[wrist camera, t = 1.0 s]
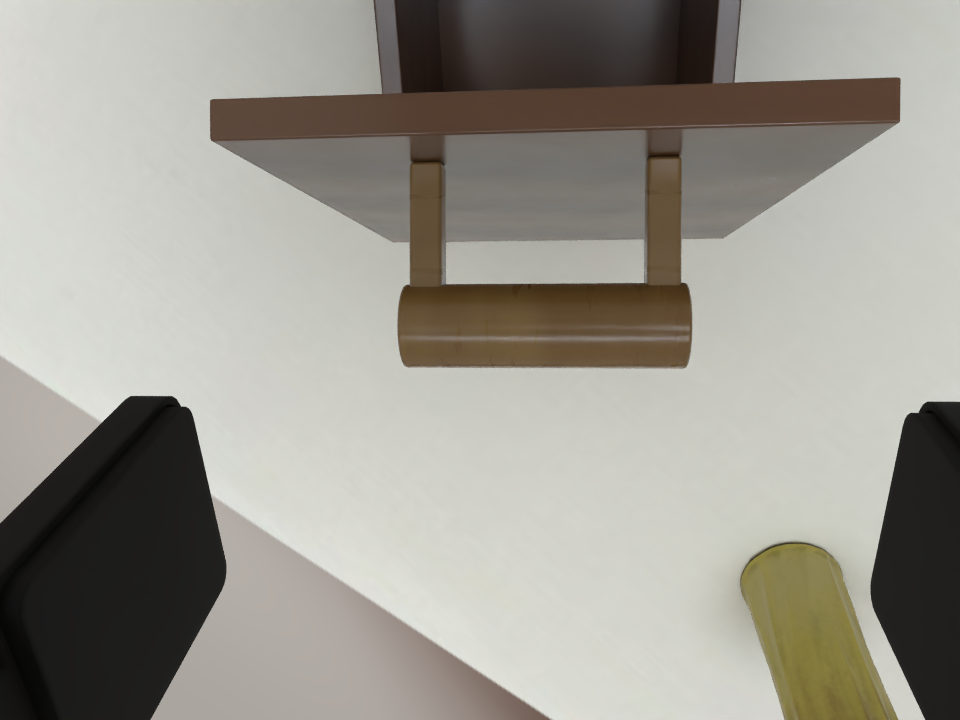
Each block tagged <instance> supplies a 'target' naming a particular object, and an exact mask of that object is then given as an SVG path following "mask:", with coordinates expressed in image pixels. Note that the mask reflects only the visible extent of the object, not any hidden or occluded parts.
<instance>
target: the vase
mask: <svg viewBox="0 0 960 720" xmlns="http://www.w3.org/2000/svg"><path fill="white" fill-rule="evenodd" d="M741 591H742V595H743V597H744V600H745V602H746V604H747V605H748V607H749V609H750V612H751V615H752V618H753V621H754V624H755V628H756V631H757V634H758V637H759V640H760V643H761V646H762V649H763V652H764V655H765V658H766V661H767V663H768V666H769V669H770V672H771V676H772V680H773V683H774V686H775V689H776V692H777V695H778V698H779V701H780V705H781V709H782V712H783V716H784V719H785V720H898V718H897V716H896V713H895V711H894V709H893V707H892V704H891V702H890V700H889V697H888V695H887V693H886V691H885V689H884V686H883V684H882V681H881V679H880V676H879V674H878V672H877V670H876V667H875V665H874V663H873V660H872V658H871V656H870V653H869V650H868V648H867V645H866V642H865V640H864V637H863V634H862V631H861V628H860V625H859V622H858V619H857V616H856V613H855V611H854V608H853V605H852V602H851V599H850V597H849V594H848V591H847V589H846V586H845V583H844V581H843V576H842V571H841V568H840V566H839V565H838V563H837V562H836V561H835V560H834V559H833V558H832V557H831V556H830V555H829V554H828V553H827V552H825V551H824V550H822V549H819V548H817V547H814V546H811V545H806V544H785V545H779V546H776V547H773V548H770V549H768V550H766V551H765V552H763V553H761V554H760V555H758V556H757V557H756V558H754V559H753V560H752V561H751V562H750V563H749V564H748V566H747V567H746V569H745V570H744V573H743V575H742V578H741Z"/></svg>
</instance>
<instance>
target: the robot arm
mask: <svg viewBox="0 0 960 720" xmlns="http://www.w3.org/2000/svg"><path fill="white" fill-rule="evenodd" d="M225 578H226V560H225V555H224V551H223V546H222V542H221V538H220V533H219V529H218V524H217V520H216V516H215V511H214V507H213V503H212V498H211V494H210V489H209V485H208V480H207V476H206V471H205V467H204V463H203V458H202V454H201V449H200V445H199V441H198V436H197V432H196V427H195V423H194V419H193V416H192V413H191V411H190V410H189V408H187V407H181V406H180V404H179V402H178V401H177V399H176V398H174V397H172V396H130V397H129V398H127V399H126V400H124V401H123V402H122V403H121V404H120V405H119V406H118V407H117V408H116V409H115V410H114V411H113V412H112V413H111V414H110V415H109V416H108V417H107V418H106V419H105V420H104V421H103V422H102V423H101V424H100V425H99V426H98V427H97V428H96V429H95V430H94V431H93V432H92V433H91V434H90V435H89V436H88V437H87V438H86V439H85V440H84V441H83V442H82V443H81V444H80V445H79V446H78V447H77V448H76V449H75V450H74V451H73V452H72V453H71V454H70V455H69V456H68V457H67V458H66V459H65V460H64V461H63V462H62V463H61V464H60V465H59V466H58V467H57V468H56V469H55V470H54V471H53V472H52V473H51V474H50V475H49V476H48V477H47V478H46V479H45V480H44V481H43V482H42V483H41V484H40V485H39V486H38V487H37V488H36V489H35V490H34V491H33V492H32V493H31V494H30V495H29V496H28V497H27V498H26V499H25V500H24V501H23V502H21V504H20V505H18V507H16V509H14V510H13V511H12V512H11V513H10V514H9V515H8V516H7V517H6V518H5V519H4V520H3V521H2V522H1V523H0V720H150V719H151V718H152V716H153V714H154V712H155V710H156V709H157V707H158V705H159V703H160V701H161V699H162V698H163V696H164V694H165V692H166V690H167V688H168V687H169V685H170V683H171V681H172V679H173V678H174V676H175V674H176V672H177V670H178V669H179V667H180V665H181V663H182V661H183V660H184V658H185V656H186V654H187V652H188V650H189V648H190V647H191V645H192V643H193V641H194V640H195V638H196V636H197V634H198V632H199V631H200V629H201V627H202V625H203V623H204V621H205V620H206V618H207V616H208V614H209V612H210V611H211V609H212V607H213V605H214V603H215V601H216V600H217V598H218V596H219V594H220V592H221V591H222V588H223V586H224V583H225ZM871 600H872V605H873V608H874V611H875V613H876V615H877V618H878V620H879V622H880V624H881V626H882V628H883V630H884V633H885V635H886V637H887V639H888V641H889V643H890V645H891V648H892V650H893V652H894V654H895V656H896V658H897V660H898V662H899V665H900V667H901V669H902V671H903V673H904V675H905V677H906V680H907V682H908V684H909V686H910V688H911V690H912V692H913V695H914V697H915V699H916V701H917V703H918V705H919V707H920V709H921V712H922V714H923V716H924V718H925V720H960V402H926V403H925V404H923V406H922V407H921V409H920V411H919V413H910V414H908V415H907V417H906V418H905V421H904V424H903V428H902V433H901V438H900V443H899V448H898V453H897V457H896V462H895V467H894V472H893V477H892V482H891V486H890V491H889V496H888V501H887V506H886V511H885V515H884V520H883V525H882V530H881V535H880V540H879V544H878V549H877V554H876V559H875V564H874V569H873V573H872V578H871Z"/></svg>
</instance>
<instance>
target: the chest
mask: <svg viewBox="0 0 960 720" xmlns="http://www.w3.org/2000/svg"><path fill="white" fill-rule="evenodd" d="M374 9H375V20H376V31H377V41H378V52H379V63H380V74H381V84H382V94H396V93H427V92H458V91H489V90H521V89H552V88H583V87H614V86H646V85H677V84H708V83H734V79H735V68H736V56H737V45H738V34H739V22H740V11H741V0H374Z"/></svg>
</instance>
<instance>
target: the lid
mask: <svg viewBox="0 0 960 720" xmlns="http://www.w3.org/2000/svg"><path fill="white" fill-rule="evenodd" d="M899 121H900V78H898V77H896V78H864V79H833V80H802V81H771V82H739V83H708V84H677V85H646V86H614V87H583V88H552V89H521V90H489V91H458V92H427V93H396V94H364V95H333V96H302V97H271V98H239V99H212V100H211V101H210V138H211V141H213V142H215V143H216V144H218V145H220V146H222V147H224V148H225V149H227V150H229V151H231V152H233V153H234V154H236V155H238V156H240V157H241V158H243V159H245V160H247V161H249V162H250V163H252V164H254V165H256V166H258V167H259V168H261V169H263V170H265V171H267V172H268V173H270V174H272V175H274V176H275V177H277V178H279V179H281V180H283V181H284V182H286V183H288V184H290V185H292V186H293V187H295V188H297V189H299V190H300V191H302V192H304V193H306V194H308V195H309V196H311V197H313V198H315V199H317V200H318V201H320V202H322V203H324V204H326V205H327V206H329V207H331V208H333V209H334V210H336V211H338V212H340V213H342V214H343V215H345V216H347V217H349V218H351V219H352V220H354V221H356V222H358V223H359V224H361V225H363V226H365V227H367V228H368V229H370V230H372V231H374V232H376V233H377V234H379V235H381V236H383V237H385V238H386V239H388V240H390V241H392V242H410V285H406V286H404V287H403V289H402V292H401V295H400V300H399V307H398V344H399V351H400V356H401V359H402V362H403V364H404V366H406V367H442V368H670V369H683V368H686V367H687V365H688V362H689V358H690V352H691V343H692V304H691V296H690V291H689V288H688V285H687V284H685V283H681V239H709V238H724V237H726V236H727V235H729V234H730V233H732V232H734V231H735V230H737V229H738V228H740V227H741V226H743V225H744V224H746V223H747V222H749V221H750V220H752V219H753V218H755V217H756V216H758V215H759V214H761V213H762V212H764V211H765V210H767V209H768V208H770V207H771V206H773V205H775V204H776V203H778V202H779V201H781V200H782V199H784V198H785V197H787V196H788V195H790V194H791V193H793V192H794V191H796V190H797V189H799V188H800V187H802V186H803V185H805V184H806V183H808V182H809V181H811V180H812V179H814V178H815V177H817V176H819V175H820V174H822V173H823V172H825V171H826V170H828V169H829V168H831V167H832V166H834V165H835V164H837V163H838V162H840V161H841V160H843V159H844V158H846V157H847V156H849V155H850V154H852V153H853V152H855V151H856V150H858V149H859V148H861V147H863V146H864V145H866V144H867V143H869V142H870V141H872V140H873V139H875V138H876V137H878V136H879V135H881V134H882V133H884V132H885V131H887V130H888V129H890V128H891V127H893V126H894V125H896V124H897V123H899ZM627 239H645V254H644V283H597V284H446V242H464V241H546V240H627Z"/></svg>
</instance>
